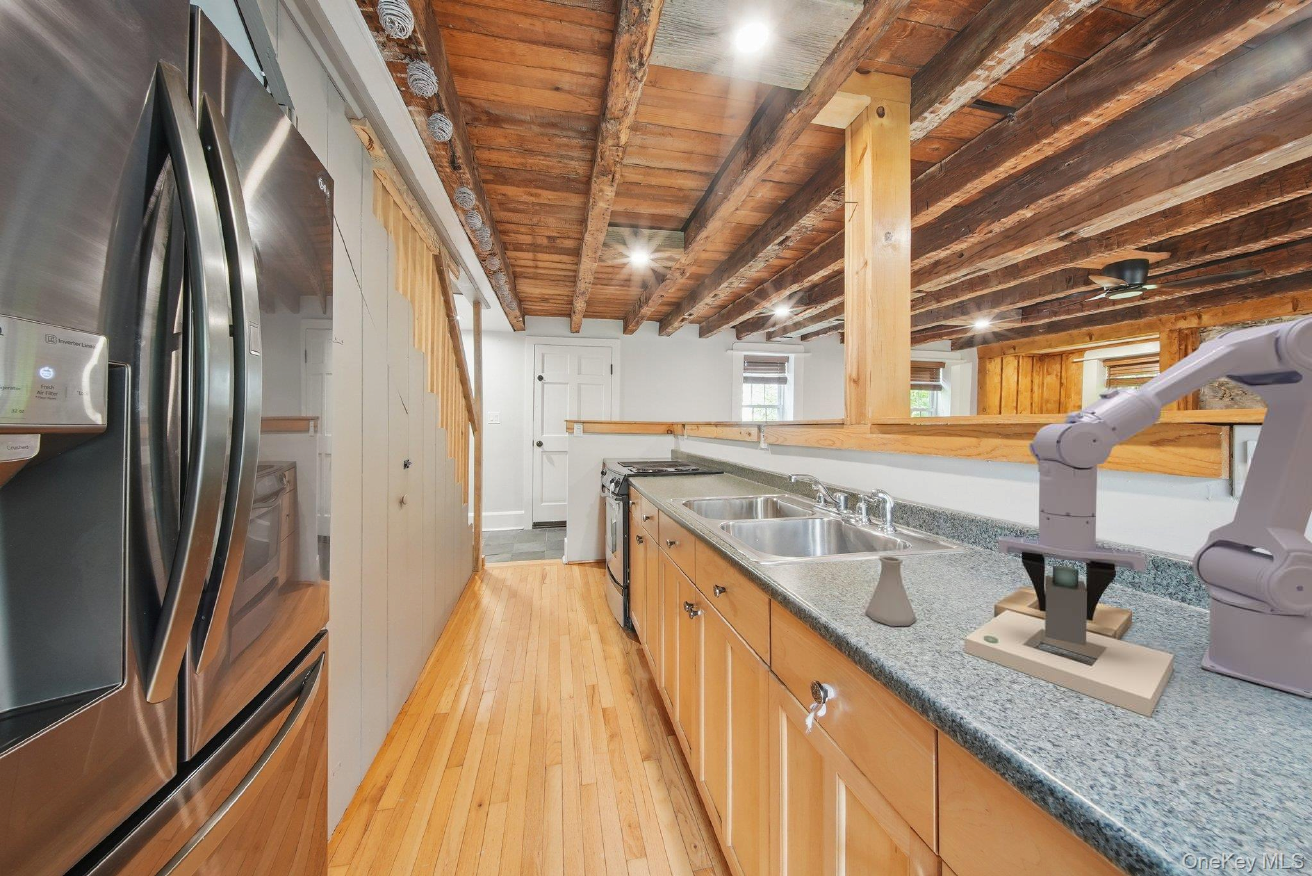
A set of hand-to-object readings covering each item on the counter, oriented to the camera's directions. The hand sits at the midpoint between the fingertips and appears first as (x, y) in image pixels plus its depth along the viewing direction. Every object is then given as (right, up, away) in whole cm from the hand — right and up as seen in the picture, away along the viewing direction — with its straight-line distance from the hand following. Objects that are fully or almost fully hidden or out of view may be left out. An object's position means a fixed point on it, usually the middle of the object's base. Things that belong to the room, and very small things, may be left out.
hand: (1064, 613), depth 62 cm
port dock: (0, -6, 0) cm, 6 cm away
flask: (-16, -7, +14) cm, 23 cm away
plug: (0, -3, 0) cm, 3 cm away
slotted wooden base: (+11, -6, +13) cm, 18 cm away
